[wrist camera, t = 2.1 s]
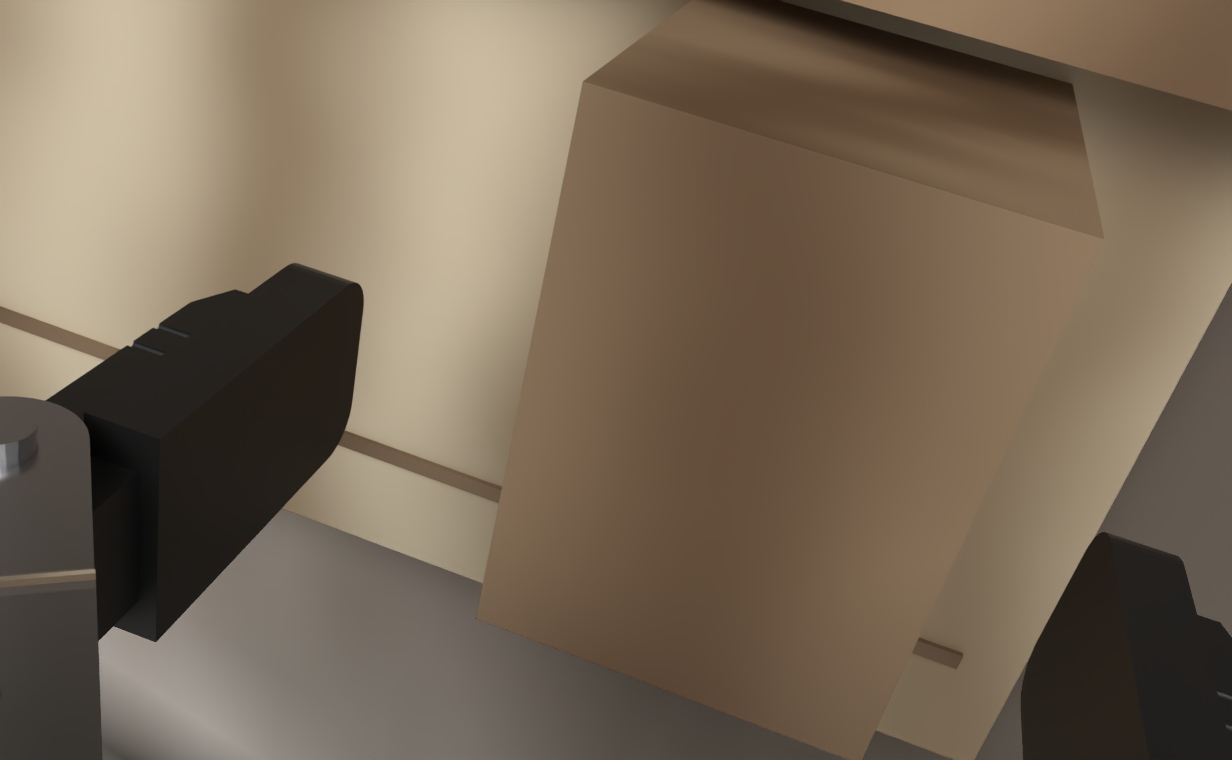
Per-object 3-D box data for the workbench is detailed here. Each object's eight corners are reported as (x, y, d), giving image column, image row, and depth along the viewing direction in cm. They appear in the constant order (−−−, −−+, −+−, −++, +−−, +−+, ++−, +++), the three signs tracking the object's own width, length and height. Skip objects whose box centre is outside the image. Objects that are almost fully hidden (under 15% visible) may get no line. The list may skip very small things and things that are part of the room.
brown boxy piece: (1073, 84, 16) (1105, 238, 10) (839, 639, 21) (785, 924, 16) (715, -18, 16) (583, 81, 11) (576, 543, 21) (442, 785, 16)
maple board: (1350, -38, 16) (1443, 16, 12) (973, 691, 23) (967, 853, 19) (-352, -482, 20) (-634, -533, 16) (-222, 255, 27) (-400, 326, 24)
